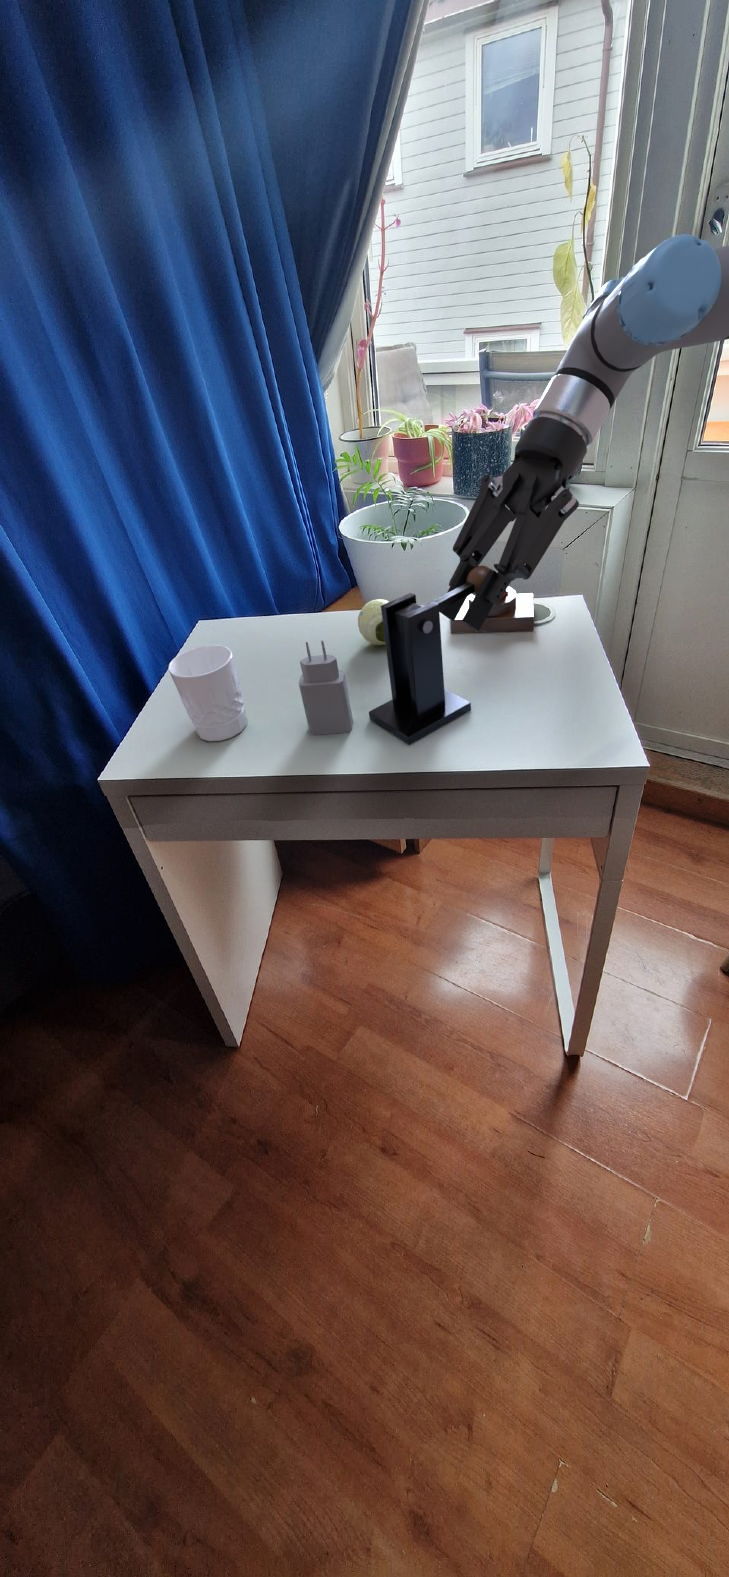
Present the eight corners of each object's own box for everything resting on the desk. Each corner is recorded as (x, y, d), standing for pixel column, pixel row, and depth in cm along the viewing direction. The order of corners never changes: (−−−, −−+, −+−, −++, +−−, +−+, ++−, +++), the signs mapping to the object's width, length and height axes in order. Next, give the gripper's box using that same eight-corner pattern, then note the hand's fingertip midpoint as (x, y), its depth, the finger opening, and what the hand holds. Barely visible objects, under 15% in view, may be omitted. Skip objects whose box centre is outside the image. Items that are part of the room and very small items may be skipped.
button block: (533, 606, 101) (533, 581, 98) (533, 630, 95) (534, 605, 92) (455, 609, 103) (453, 585, 101) (450, 633, 97) (449, 608, 95)
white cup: (257, 708, 88) (238, 642, 82) (243, 743, 82) (222, 674, 76) (202, 712, 90) (179, 646, 83) (185, 746, 84) (159, 679, 77)
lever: (482, 586, 81) (480, 558, 78) (503, 593, 78) (502, 564, 76) (393, 634, 76) (389, 605, 73) (413, 643, 73) (409, 614, 71)
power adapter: (312, 721, 84) (293, 637, 77) (353, 718, 83) (338, 633, 76) (308, 735, 82) (289, 649, 74) (351, 732, 81) (335, 645, 73)
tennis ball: (359, 636, 101) (353, 595, 96) (402, 629, 101) (398, 588, 96) (362, 655, 96) (355, 613, 92) (407, 649, 96) (403, 606, 91)
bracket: (429, 687, 87) (420, 580, 77) (471, 710, 81) (467, 598, 72) (369, 719, 83) (352, 610, 73) (409, 745, 77) (396, 631, 68)
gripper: (634, 461, 71) (525, 654, 75) (520, 445, 82) (430, 614, 87) (608, 418, 66) (491, 628, 70) (490, 408, 77) (395, 590, 81)
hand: (458, 620), depth 78 cm, fingers closed on lever, 4 cm apart
